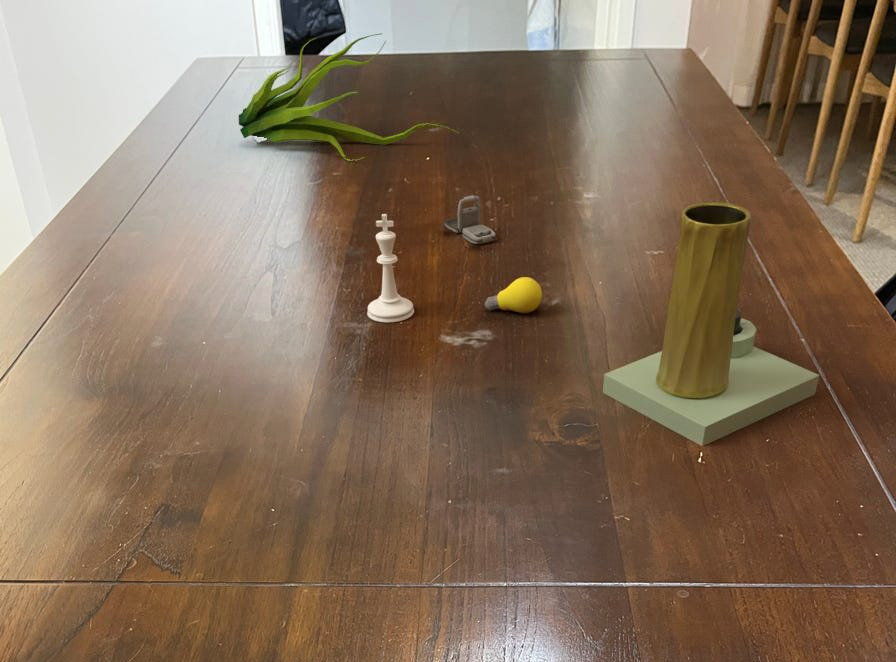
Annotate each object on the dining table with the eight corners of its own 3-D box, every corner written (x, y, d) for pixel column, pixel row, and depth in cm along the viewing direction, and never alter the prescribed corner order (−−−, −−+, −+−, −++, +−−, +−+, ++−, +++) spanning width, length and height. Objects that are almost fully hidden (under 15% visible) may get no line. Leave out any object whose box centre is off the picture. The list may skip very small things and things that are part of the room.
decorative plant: (377, 181, 139) (368, 60, 129) (235, 146, 154) (218, 36, 144) (459, 147, 148) (457, 32, 139) (318, 117, 164) (307, 12, 154)
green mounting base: (715, 344, 97) (721, 309, 94) (821, 391, 89) (830, 354, 86) (599, 391, 91) (602, 355, 88) (702, 447, 83) (708, 408, 80)
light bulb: (545, 315, 103) (536, 288, 100) (489, 329, 105) (479, 303, 102) (546, 293, 105) (537, 266, 102) (491, 307, 107) (481, 280, 104)
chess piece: (371, 302, 108) (364, 206, 101) (417, 303, 107) (412, 206, 100) (363, 322, 104) (355, 223, 97) (410, 323, 103) (405, 223, 97)
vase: (685, 406, 84) (711, 232, 75) (640, 377, 88) (659, 209, 79) (742, 387, 86) (774, 216, 77) (696, 360, 90) (720, 194, 81)
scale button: (721, 322, 93) (724, 304, 92) (745, 332, 91) (748, 313, 90) (700, 330, 92) (702, 312, 91) (723, 341, 90) (726, 322, 89)
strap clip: (498, 241, 119) (498, 204, 117) (475, 246, 118) (475, 209, 116) (463, 220, 125) (463, 184, 122) (441, 225, 124) (441, 189, 121)
